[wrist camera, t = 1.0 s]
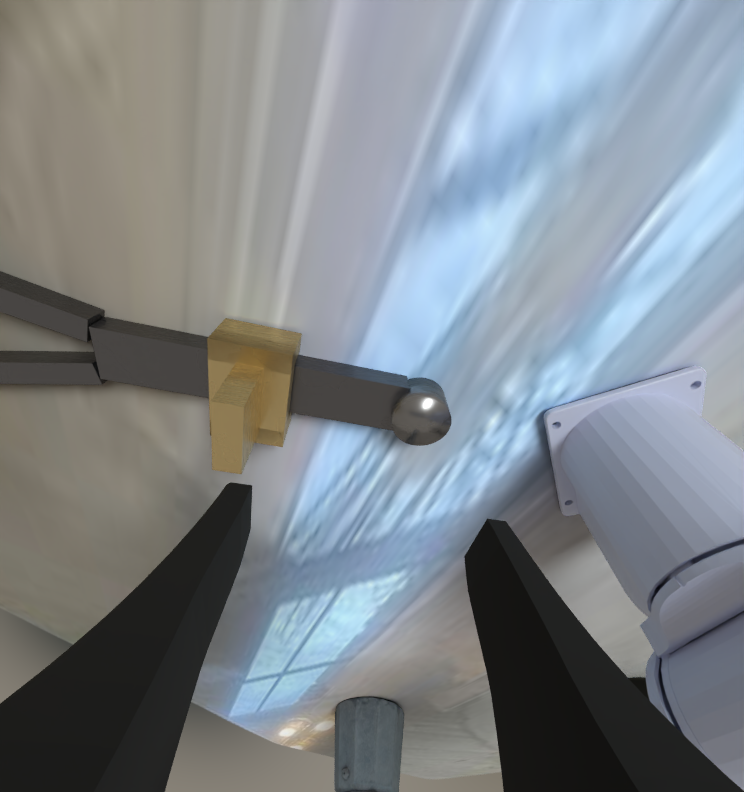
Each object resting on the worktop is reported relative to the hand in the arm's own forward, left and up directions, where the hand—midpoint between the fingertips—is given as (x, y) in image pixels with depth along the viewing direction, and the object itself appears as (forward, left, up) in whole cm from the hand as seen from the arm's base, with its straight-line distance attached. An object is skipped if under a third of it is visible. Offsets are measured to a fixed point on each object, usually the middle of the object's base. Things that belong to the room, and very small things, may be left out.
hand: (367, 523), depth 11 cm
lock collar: (+2, +5, -9) cm, 11 cm away
